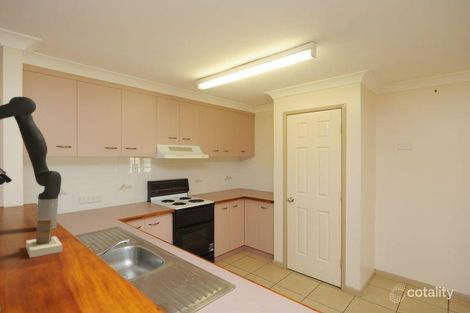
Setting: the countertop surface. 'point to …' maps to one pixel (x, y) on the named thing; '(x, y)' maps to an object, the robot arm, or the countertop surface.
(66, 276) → the countertop surface
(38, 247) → the plinth
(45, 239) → the walnut block
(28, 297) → the countertop surface
